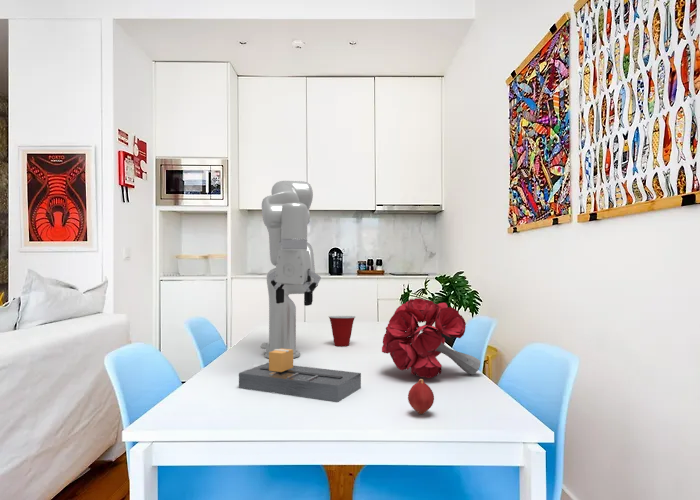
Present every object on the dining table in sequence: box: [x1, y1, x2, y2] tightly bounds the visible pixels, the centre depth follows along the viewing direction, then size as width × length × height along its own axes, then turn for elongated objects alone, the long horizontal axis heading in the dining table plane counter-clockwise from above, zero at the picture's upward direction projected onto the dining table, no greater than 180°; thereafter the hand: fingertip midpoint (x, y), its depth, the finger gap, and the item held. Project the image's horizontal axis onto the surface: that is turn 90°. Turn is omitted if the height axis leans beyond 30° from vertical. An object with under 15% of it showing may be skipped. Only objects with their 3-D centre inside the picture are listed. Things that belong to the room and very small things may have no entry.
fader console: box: [238, 362, 362, 403], centre depth 130 cm, size 30×14×4 cm, turn 65°
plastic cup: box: [328, 315, 356, 347], centre depth 193 cm, size 11×11×12 cm
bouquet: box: [381, 297, 481, 379], centre depth 144 cm, size 22×24×30 cm
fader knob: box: [268, 348, 294, 372], centre depth 133 cm, size 4×6×5 cm
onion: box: [407, 378, 435, 415], centre depth 108 cm, size 6×6×8 cm
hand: (293, 304), depth 140 cm, fingers open, 9 cm apart
